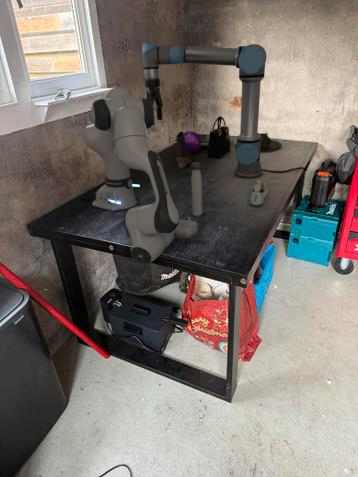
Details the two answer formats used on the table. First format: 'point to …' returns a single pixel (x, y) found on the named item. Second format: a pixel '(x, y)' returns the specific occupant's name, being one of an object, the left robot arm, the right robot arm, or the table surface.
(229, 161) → the table surface
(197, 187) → the bottle
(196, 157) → the table surface
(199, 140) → the decorative orb
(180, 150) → the boot
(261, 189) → the ballet flat
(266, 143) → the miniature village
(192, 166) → the cap
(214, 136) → the handbag
